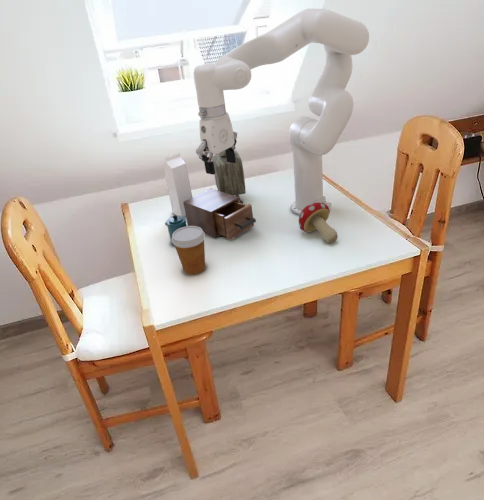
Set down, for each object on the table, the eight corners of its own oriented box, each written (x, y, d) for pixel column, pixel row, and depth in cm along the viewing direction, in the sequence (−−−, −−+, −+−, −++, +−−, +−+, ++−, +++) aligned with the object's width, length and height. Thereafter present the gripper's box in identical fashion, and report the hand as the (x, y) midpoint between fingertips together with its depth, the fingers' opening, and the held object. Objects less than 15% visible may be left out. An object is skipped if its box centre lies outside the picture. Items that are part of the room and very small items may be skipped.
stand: (242, 222, 151) (239, 197, 146) (215, 238, 143) (211, 212, 138) (214, 212, 159) (210, 188, 154) (188, 226, 152) (183, 201, 147)
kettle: (197, 242, 142) (192, 215, 137) (183, 250, 139) (177, 223, 134) (176, 233, 149) (170, 207, 144) (162, 240, 145) (155, 214, 140)
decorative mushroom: (344, 221, 127) (314, 189, 135) (314, 246, 128) (286, 213, 136) (353, 235, 136) (325, 205, 144) (325, 258, 137) (298, 227, 145)
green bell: (247, 205, 162) (239, 139, 148) (223, 210, 160) (213, 143, 147) (239, 190, 174) (231, 128, 161) (217, 195, 172) (207, 132, 159)
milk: (195, 212, 162) (184, 154, 150) (181, 218, 158) (170, 159, 147) (185, 207, 166) (174, 151, 154) (172, 213, 162) (160, 156, 151)
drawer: (262, 228, 144) (260, 207, 140) (238, 244, 137) (235, 222, 133) (227, 216, 154) (224, 195, 150) (202, 229, 147) (199, 208, 143)
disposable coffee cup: (197, 281, 124) (189, 244, 117) (171, 273, 128) (163, 237, 122) (217, 263, 130) (211, 228, 124) (192, 257, 135) (185, 222, 129)
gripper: (201, 120, 117) (211, 180, 126) (241, 104, 128) (248, 159, 137) (181, 118, 122) (192, 176, 131) (222, 102, 133) (230, 156, 142)
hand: (221, 167), depth 134 cm, fingers open, 9 cm apart
